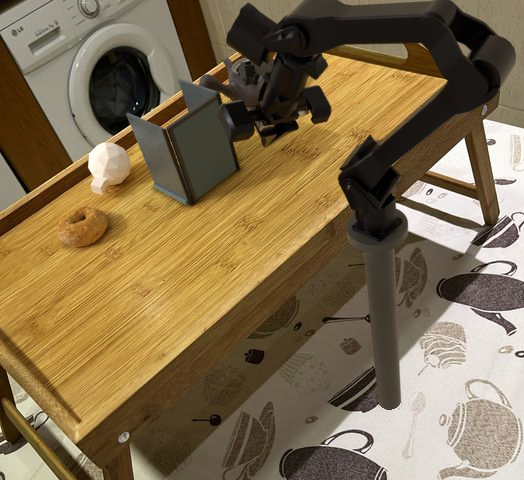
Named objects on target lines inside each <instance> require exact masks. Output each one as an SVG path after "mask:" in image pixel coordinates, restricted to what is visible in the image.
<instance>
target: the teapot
mask: <svg viewBox="0 0 524 480" xmlns="http://www.w3.org/2000/svg"><path fill="white" fill-rule="evenodd" d="M245 61H250V60H248V59H247V58H245V57H243V58H240V59H238V60H236V62H233V61H232V60H231V58H229V57H228V56H223V57H222V59H221V62H222V63H223V64H224V66H225V68H226V72H227V76H228V77H227V78H228V84H225V83H222V82H220V80H218V78H217V77H215V76H214V75H212V74H209V73H206V74H202V75H201V76H200V77H199V81H198V85H199V86H202V87H205V88H208V89H211V90H214V91H217V92H220V94H222V95H224V96H225V97H226V98H228V99H229V100H230V102H233V101H238V100H242V101H244V103H245V105H246V107H252V106H257V105H260V104H261V102H260V101H257V100H256V98H255V96H254V95H255V91H256V90H255V89H254V88H253V87H252V86H251V85H248V86H244V85H243V84H242V83H241V82H240V81H239V79H238V69H239V66H240V63H241V62H245Z"/></svg>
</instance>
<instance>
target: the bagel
mask: <svg viewBox="0 0 524 480" xmlns="http://www.w3.org/2000/svg"><path fill="white" fill-rule="evenodd" d="M58 222H59V223H58V224H57V226H56V234H57V235H56V236H57V238H58V239H59V241H61V242H63V243H64V244H65V245H69V246H72V247H74V248H81V247H85V246H89V245H92V244H94V243H95V242H97V241H99V240H100V239H101V238H102V236H103V235H104V234H105V233H106V230H107V229H108V227H109V221H108V216H107V214H106V212H104V211H103V210H102V209H99V208H94V207H90V206H85V205H84V206H80V207H77V208H76V209H75V210H73V211H72V212H70V213H69V214H67V215H65V216H63V217H62V218H60V220H59V221H58Z"/></svg>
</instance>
